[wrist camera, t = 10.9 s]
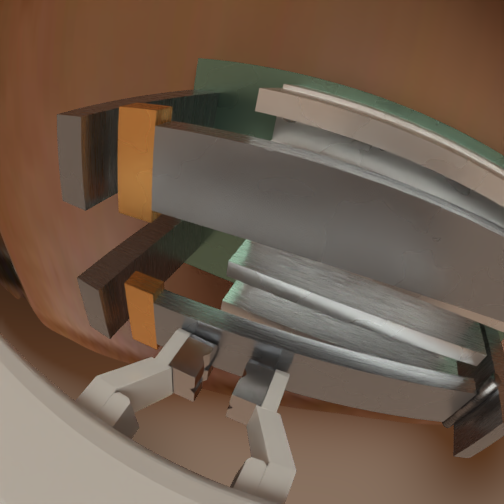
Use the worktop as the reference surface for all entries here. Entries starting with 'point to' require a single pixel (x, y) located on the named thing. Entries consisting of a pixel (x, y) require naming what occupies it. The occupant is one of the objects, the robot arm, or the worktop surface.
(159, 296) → the strap
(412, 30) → the worktop surface
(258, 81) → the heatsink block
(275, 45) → the worktop surface
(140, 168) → the silver flat bar
